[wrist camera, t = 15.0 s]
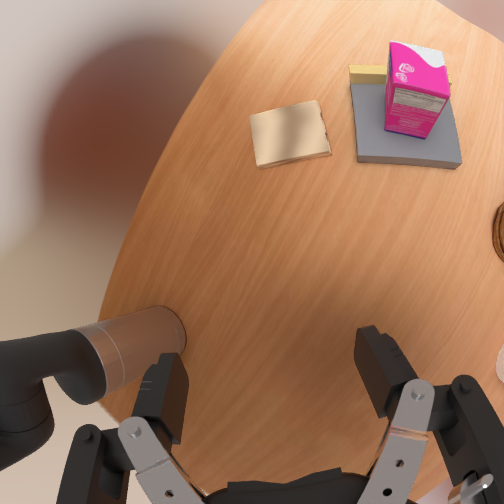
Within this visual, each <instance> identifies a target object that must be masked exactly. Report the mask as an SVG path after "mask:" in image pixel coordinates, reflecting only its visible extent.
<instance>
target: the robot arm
mask: <svg viewBox="0 0 504 504" xmlns="http://www.w3.org/2000/svg"><path fill="white" fill-rule="evenodd" d="M185 344H186V336H185V331H184V327H183V325H182V323H181V321H180V320H179V318H178V317H177V316H176V315H175V314H174V313H173V312H172V311H171V310H169V309H167V308H165V307H161V306H155V307H151V308H148V309H144V310H141V311H137V312H133V313H130V314H126V315H123V316H119V317H115V318H112V319H108V320H104V321H101V322H97V323H94V324H89V325H86V326H82V327H78V328H75V329H70V330H67V331H63V332H55V333H47V334H42V335H37V336H33V337H27V338H22V339H15V340H8V341H1V342H0V471H1V470H3V469H5V468H7V467H9V466H11V465H13V464H14V463H16V462H18V461H20V460H22V459H23V458H25V457H27V456H28V455H30V454H32V453H33V452H35V451H36V450H38V449H39V448H40V447H42V446H43V445H44V444H45V443H46V442H47V441H48V439H49V438H50V437H51V435H52V433H53V431H54V418H53V414H52V410H51V407H50V404H49V401H48V398H47V394H46V391H45V388H44V384H43V380H42V379H43V378H45V377H49V376H54V378H55V380H56V381H57V383H58V384H59V386H60V387H61V388H62V390H63V391H64V392H65V393H66V394H67V395H68V396H69V397H70V398H71V399H72V400H73V401H75V402H76V403H79V404H81V405H88V404H91V403H94V402H96V401H98V400H100V399H102V398H104V397H106V396H107V395H109V394H111V393H113V392H115V391H117V390H119V389H121V388H122V387H124V386H126V385H128V384H130V383H132V382H134V381H135V380H137V379H139V378H141V377H143V376H144V377H143V380H142V383H141V387H140V390H139V393H138V396H137V399H136V403H135V406H134V409H133V412H132V416H131V417H130V418H127V419H125V420H124V421H123V422H122V423H121V424H120V426H119V427H118V428H114V429H108V430H102V431H101V430H100V429H99V428H98V427H97V426H95V425H92V424H86V425H83V426H81V427H80V428H79V429H78V430H77V431H76V433H75V435H74V438H73V441H72V444H71V448H70V451H69V455H68V458H67V461H66V465H65V469H64V473H63V477H62V480H61V484H60V488H59V493H58V498H57V502H56V504H126V499H127V491H128V483H129V476H130V470H136V471H137V474H136V478H137V480H138V482H139V484H140V485H141V487H142V489H143V490H144V492H145V493H146V495H147V497H148V498H149V500H150V501H151V503H152V504H417V503H415V502H413V501H411V500H409V499H408V496H409V494H410V491H411V489H412V486H413V484H414V481H415V478H416V476H417V473H418V470H419V467H420V464H421V461H422V458H423V455H424V451H425V448H426V444H427V440H428V436H427V435H426V431H433V434H434V436H435V438H436V441H437V443H438V446H439V448H440V451H441V454H442V456H443V459H444V461H445V464H446V467H447V470H448V472H449V475H450V478H451V481H452V484H453V487H454V488H453V489H452V491H451V492H450V494H449V497H448V504H504V427H503V425H502V423H501V421H500V420H499V418H498V416H497V414H496V412H495V411H494V409H493V407H492V405H491V404H490V402H489V400H488V398H487V397H486V395H485V393H484V392H483V390H482V389H481V387H480V385H479V384H478V382H477V381H476V380H475V379H474V378H473V377H471V376H469V375H460V376H457V377H456V378H455V379H454V380H453V382H452V384H450V385H440V386H432V385H431V384H430V383H429V382H428V381H426V380H423V379H419V378H418V376H417V375H416V373H415V371H414V370H413V368H412V367H411V365H410V363H409V362H408V360H407V359H406V357H405V355H403V352H402V351H401V349H399V346H398V344H397V343H396V341H395V340H394V339H393V338H392V337H390V336H389V335H387V334H386V333H384V334H380V333H379V331H378V330H377V328H376V327H375V326H374V325H370V326H366V327H362V328H358V329H357V333H356V341H355V348H354V360H355V364H356V366H357V369H358V371H359V373H360V375H361V378H362V380H363V382H364V385H365V387H366V389H367V391H368V394H369V396H370V399H371V401H372V403H373V406H374V408H375V410H376V413H377V415H378V418H382V417H385V416H387V418H388V420H389V422H388V424H387V427H386V430H385V432H384V435H383V437H382V440H381V442H380V445H379V447H378V449H377V452H376V454H375V456H374V458H373V460H372V462H371V464H370V466H369V468H368V470H367V472H366V474H365V476H364V475H360V474H356V473H347V472H342V471H341V467H339V468H335V469H330V470H326V471H321V472H316V473H312V474H310V475H307V476H305V477H302V478H300V479H297V480H295V481H292V482H289V483H285V484H280V483H270V482H262V481H241V482H228V488H224V489H221V490H218V491H216V492H213V493H211V494H210V495H208V496H206V495H205V494H204V492H203V491H202V490H201V489H200V488H199V487H198V486H197V485H196V484H195V483H194V481H193V480H192V479H191V478H190V476H189V475H188V474H187V473H186V471H185V470H184V469H183V467H182V466H181V465H180V463H179V462H178V461H177V459H176V458H175V456H174V455H173V454H172V452H171V447H172V444H180V442H181V435H182V428H183V421H184V414H185V407H186V401H187V395H188V388H189V379H188V375H187V372H186V370H185V368H184V365H183V363H182V360H181V358H180V356H179V355H180V354H181V353H182V352H183V350H184V348H185Z"/></svg>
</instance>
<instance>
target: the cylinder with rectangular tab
mask: <svg viewBox="0 0 504 504" xmlns="http://www.w3.org/2000/svg"><path fill="white" fill-rule="evenodd" d="M496 374H497V376H498V378H499V379H500V380H501V381H502V382H503V383H504V344H503V346H502V348H501V350H500V352H499V354H498V358H497V362H496Z"/></svg>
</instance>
